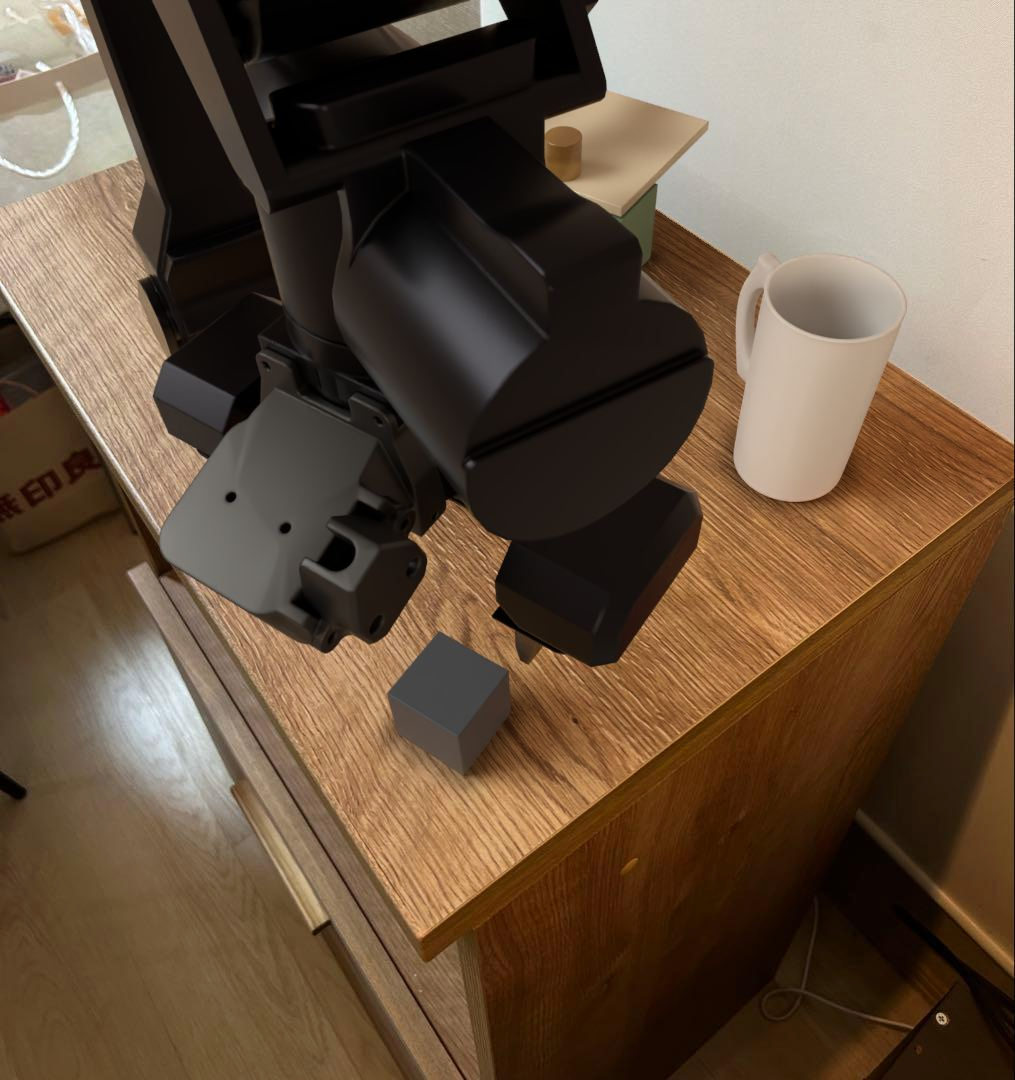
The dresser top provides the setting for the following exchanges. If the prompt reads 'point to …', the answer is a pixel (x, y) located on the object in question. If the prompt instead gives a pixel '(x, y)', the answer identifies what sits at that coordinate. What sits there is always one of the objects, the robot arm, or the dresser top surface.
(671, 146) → the slide lid
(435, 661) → the block
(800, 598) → the dresser top surface
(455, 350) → the robot arm
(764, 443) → the mug
